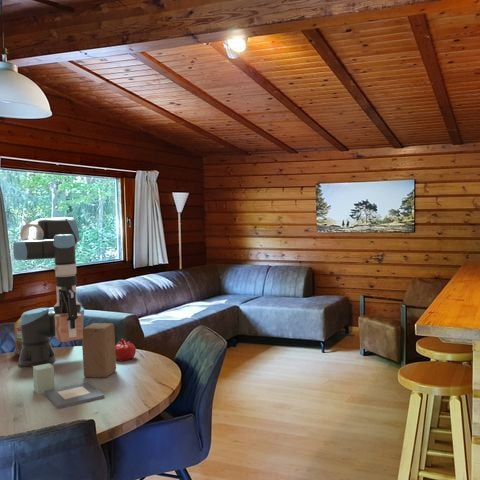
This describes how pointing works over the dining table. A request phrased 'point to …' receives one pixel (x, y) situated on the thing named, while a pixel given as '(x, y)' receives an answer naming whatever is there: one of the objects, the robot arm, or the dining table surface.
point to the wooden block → (99, 350)
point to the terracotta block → (62, 327)
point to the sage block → (43, 378)
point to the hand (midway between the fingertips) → (69, 334)
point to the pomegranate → (124, 351)
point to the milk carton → (18, 336)
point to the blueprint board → (73, 394)
